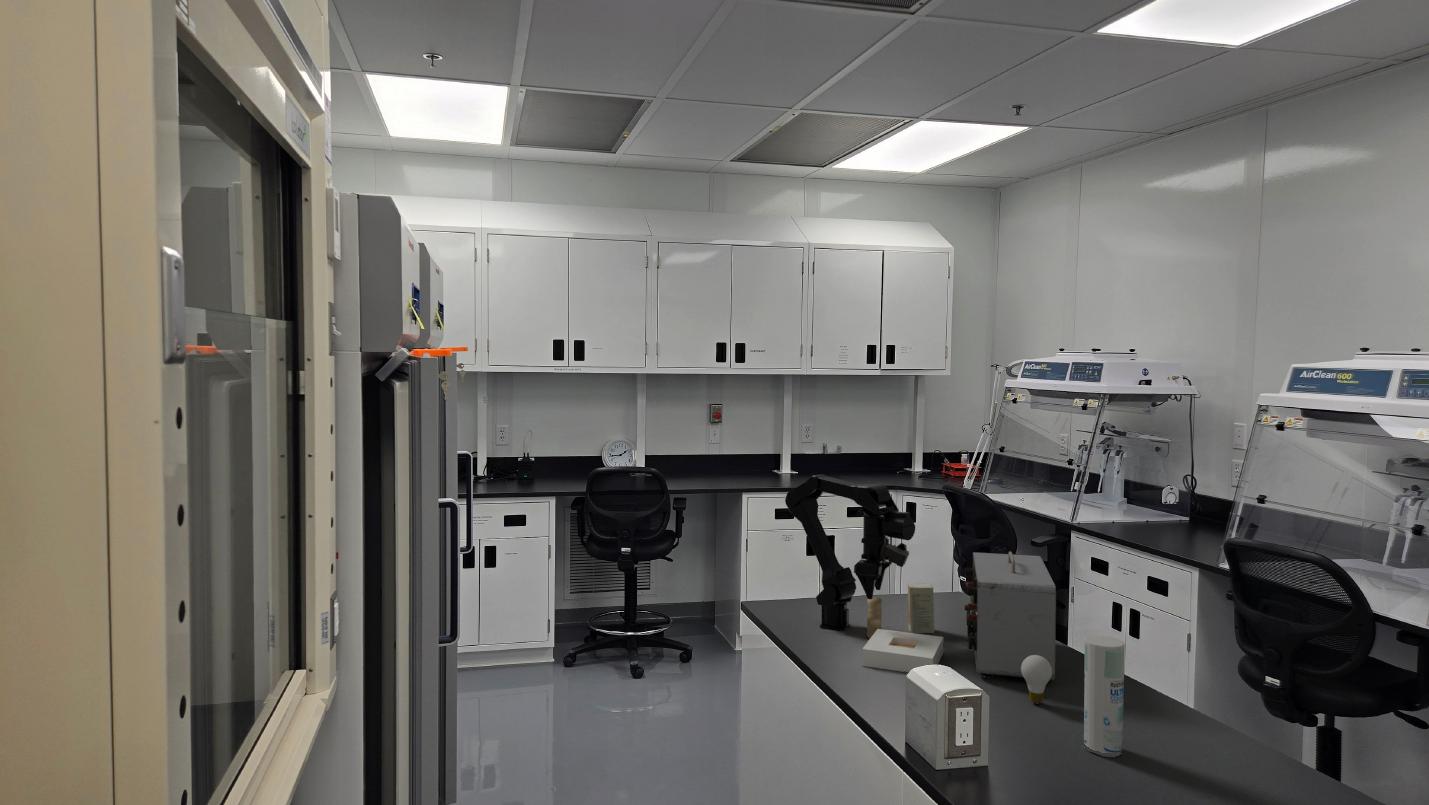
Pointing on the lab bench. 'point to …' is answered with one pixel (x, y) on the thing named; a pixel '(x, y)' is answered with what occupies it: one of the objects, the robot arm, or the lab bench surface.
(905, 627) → the lab bench surface
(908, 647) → the plunger plate
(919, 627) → the skincare box
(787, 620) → the lab bench surface
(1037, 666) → the light bulb
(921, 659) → the socket block
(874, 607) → the wooden peg
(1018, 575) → the vintage electronic device
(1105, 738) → the spray can
